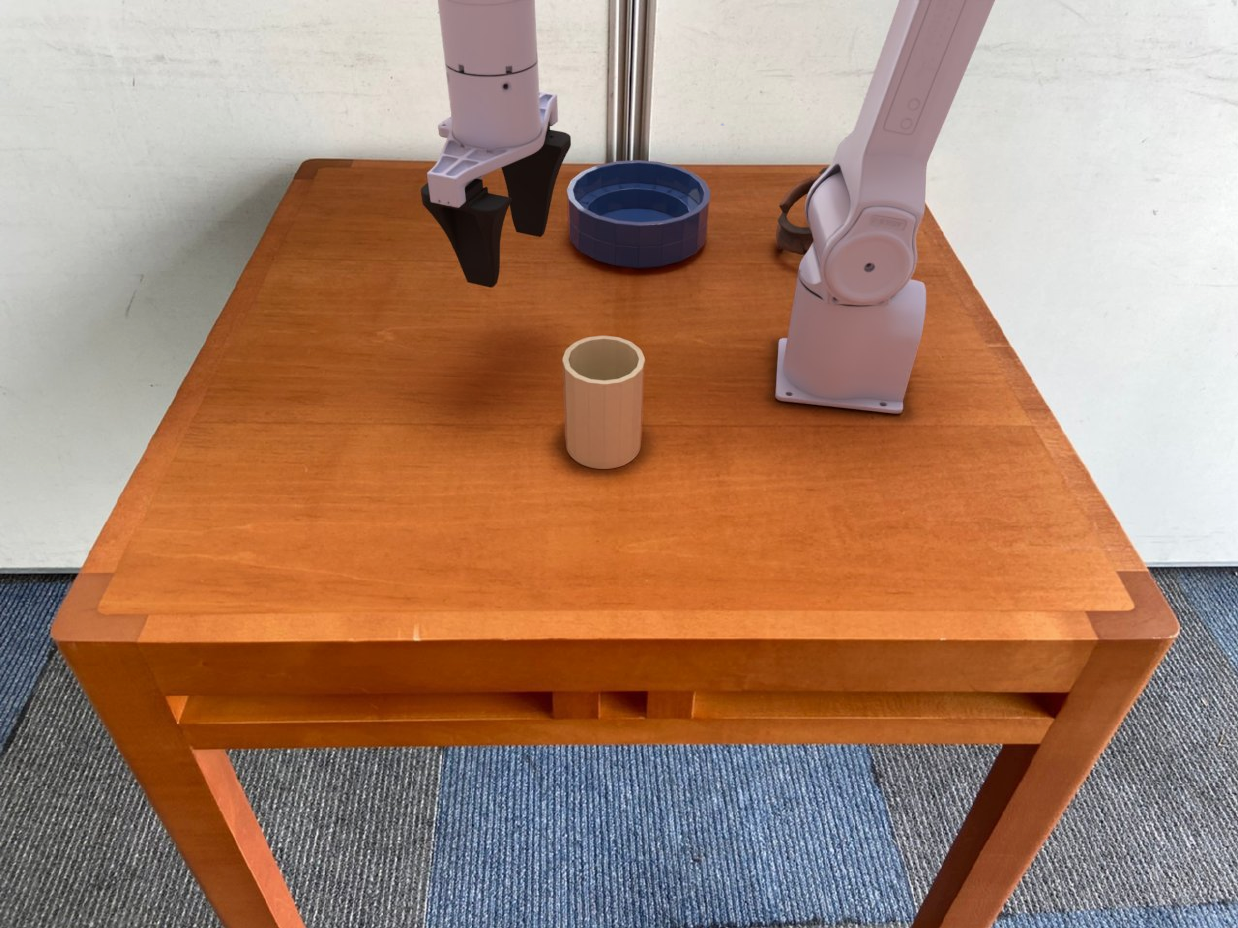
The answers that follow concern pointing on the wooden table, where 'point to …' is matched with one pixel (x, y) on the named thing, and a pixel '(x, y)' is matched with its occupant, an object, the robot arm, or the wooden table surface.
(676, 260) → the bowl
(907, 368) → the robot arm
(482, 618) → the wooden table surface
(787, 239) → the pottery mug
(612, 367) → the cup
